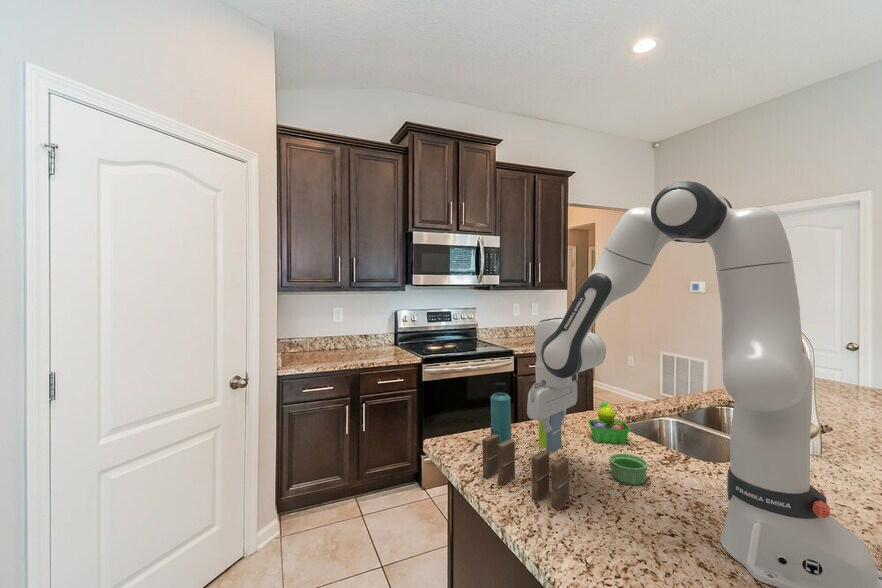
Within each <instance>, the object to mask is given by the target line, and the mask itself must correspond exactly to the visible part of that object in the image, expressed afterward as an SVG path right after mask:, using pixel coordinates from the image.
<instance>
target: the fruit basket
mask: <svg viewBox="0 0 882 588" xmlns="http://www.w3.org/2000/svg"><path fill="white" fill-rule="evenodd" d="M616 416H617V415H616V412H615V411H614V409H613V407H612V405H611V404H610V403H608V402H606V401H603V402H601V404H600V406H599V409H598V412H597V417H598V419H589V420H587V421H588V424H589V428H590V430H591V435H592V438H593V440H594V441H595V442H594V443H609V444H622V445H624V444H627V440H628V436H629V433H630V430H631V428H630V427H629V425H628V424H627V423H626V422H625V421H622V420H614V419H615V418H616Z"/></svg>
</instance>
